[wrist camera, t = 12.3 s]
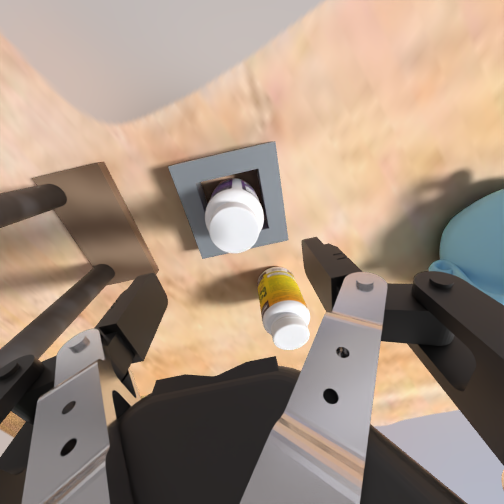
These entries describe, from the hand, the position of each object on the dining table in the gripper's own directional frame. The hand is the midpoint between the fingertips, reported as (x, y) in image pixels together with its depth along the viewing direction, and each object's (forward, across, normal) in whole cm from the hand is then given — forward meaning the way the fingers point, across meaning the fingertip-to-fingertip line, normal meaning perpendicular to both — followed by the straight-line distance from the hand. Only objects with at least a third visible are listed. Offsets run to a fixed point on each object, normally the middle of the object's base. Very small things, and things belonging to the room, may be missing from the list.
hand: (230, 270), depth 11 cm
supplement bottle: (+16, -3, +13) cm, 21 cm away
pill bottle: (+15, 0, 0) cm, 16 cm away
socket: (+15, 0, 0) cm, 15 cm away
